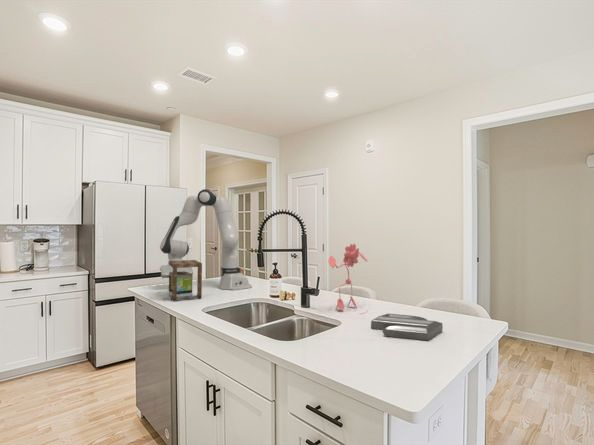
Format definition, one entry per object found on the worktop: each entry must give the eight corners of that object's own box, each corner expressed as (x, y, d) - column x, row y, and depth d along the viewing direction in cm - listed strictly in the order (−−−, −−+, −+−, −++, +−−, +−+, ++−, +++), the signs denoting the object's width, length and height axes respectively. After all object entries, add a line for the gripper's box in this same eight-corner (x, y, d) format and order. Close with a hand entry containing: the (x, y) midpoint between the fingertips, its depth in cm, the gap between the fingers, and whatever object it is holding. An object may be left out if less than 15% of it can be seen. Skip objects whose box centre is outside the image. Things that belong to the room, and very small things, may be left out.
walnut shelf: (194, 292, 213) (194, 259, 213) (201, 298, 196) (201, 263, 196) (168, 294, 205) (168, 261, 206) (172, 301, 188) (173, 264, 188)
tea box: (192, 298, 197) (193, 273, 197) (175, 300, 191) (175, 275, 191) (184, 294, 209) (184, 270, 209) (168, 296, 203) (168, 271, 203)
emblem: (415, 308, 159) (457, 326, 132) (415, 319, 159) (457, 339, 132) (361, 311, 152) (394, 331, 125) (361, 323, 152) (394, 345, 125)
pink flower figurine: (323, 311, 170) (325, 243, 170) (356, 304, 187) (358, 242, 186) (345, 318, 159) (347, 245, 158) (378, 310, 175) (380, 244, 175)
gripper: (160, 262, 220) (161, 279, 212) (191, 261, 230) (194, 277, 222) (159, 268, 224) (160, 285, 216) (190, 267, 234) (193, 283, 226)
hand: (178, 281), depth 219 cm, fingers closed
